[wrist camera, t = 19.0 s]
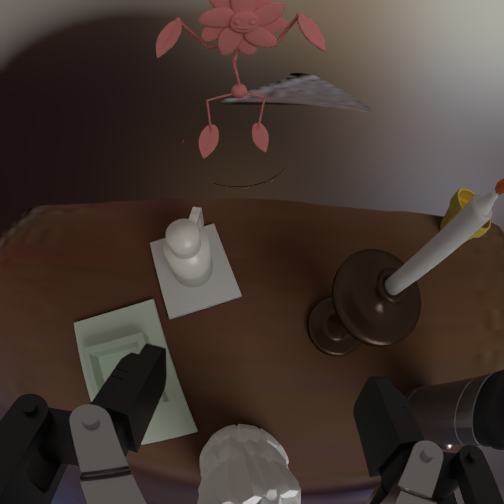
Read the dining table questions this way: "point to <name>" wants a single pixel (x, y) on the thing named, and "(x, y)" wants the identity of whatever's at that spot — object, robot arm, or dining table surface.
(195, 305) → the grey mat
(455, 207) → the plant pot
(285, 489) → the decorative vase
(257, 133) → the figurine
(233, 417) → the dining table surface
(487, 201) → the candlestick
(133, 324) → the tray
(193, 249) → the cream jug
